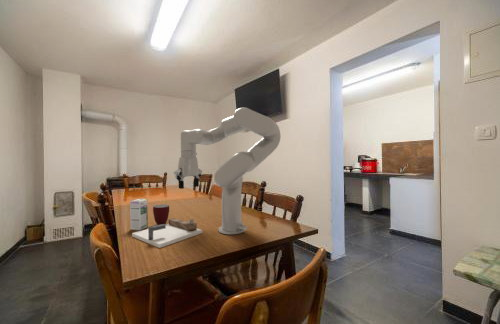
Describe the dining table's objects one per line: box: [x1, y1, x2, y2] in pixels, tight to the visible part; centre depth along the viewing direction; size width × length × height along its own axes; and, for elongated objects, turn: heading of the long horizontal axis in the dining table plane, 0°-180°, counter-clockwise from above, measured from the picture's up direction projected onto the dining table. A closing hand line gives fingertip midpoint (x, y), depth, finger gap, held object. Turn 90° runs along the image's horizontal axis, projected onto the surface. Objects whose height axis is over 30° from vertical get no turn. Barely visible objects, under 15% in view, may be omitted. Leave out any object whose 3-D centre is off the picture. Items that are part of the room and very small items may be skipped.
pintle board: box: [131, 222, 203, 249], centre depth 102 cm, size 22×22×2 cm
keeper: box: [147, 224, 166, 240], centre depth 94 cm, size 7×2×5 cm, turn 132°
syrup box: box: [129, 198, 149, 231], centre depth 112 cm, size 6×6×14 cm
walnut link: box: [168, 218, 198, 231], centre depth 109 cm, size 18×5×5 cm, turn 54°
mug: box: [152, 203, 170, 225], centre depth 119 cm, size 11×8×10 cm
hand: (189, 187), depth 115 cm, fingers open, 9 cm apart
